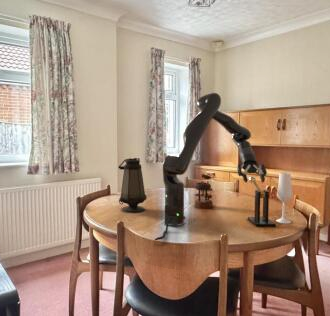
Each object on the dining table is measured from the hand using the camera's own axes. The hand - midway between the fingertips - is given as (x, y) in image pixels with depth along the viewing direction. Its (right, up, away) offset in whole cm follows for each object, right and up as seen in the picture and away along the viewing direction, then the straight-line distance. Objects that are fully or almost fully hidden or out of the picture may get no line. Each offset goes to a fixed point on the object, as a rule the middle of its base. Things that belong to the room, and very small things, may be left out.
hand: (254, 181), depth 152 cm
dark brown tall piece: (-22, -17, +26) cm, 38 cm away
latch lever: (0, -4, -2) cm, 4 cm away
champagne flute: (+12, -19, -6) cm, 24 cm away
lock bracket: (0, -20, -8) cm, 21 cm away
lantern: (-63, -18, +19) cm, 68 cm away
